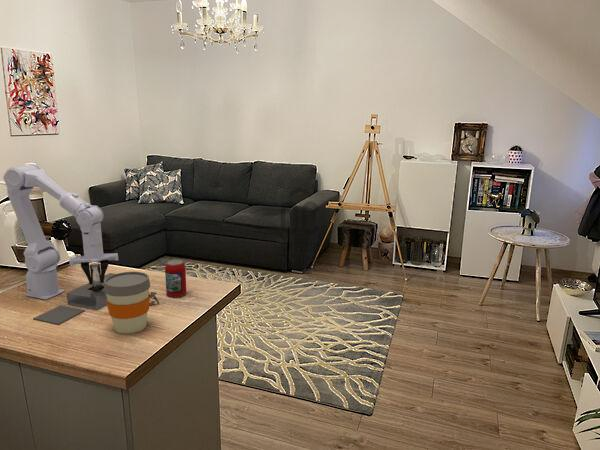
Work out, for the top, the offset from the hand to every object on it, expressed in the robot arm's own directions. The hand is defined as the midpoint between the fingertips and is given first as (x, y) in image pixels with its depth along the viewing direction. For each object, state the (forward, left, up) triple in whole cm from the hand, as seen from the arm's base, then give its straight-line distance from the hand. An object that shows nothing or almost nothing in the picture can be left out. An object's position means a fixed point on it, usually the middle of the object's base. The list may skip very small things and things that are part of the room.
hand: (96, 282), depth 148 cm
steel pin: (0, 0, -3) cm, 3 cm away
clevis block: (0, +3, -6) cm, 7 cm away
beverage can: (+22, +13, -6) cm, 26 cm away
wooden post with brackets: (+18, +2, -6) cm, 19 cm away
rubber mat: (-2, -14, -6) cm, 15 cm away
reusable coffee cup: (+23, -12, -6) cm, 27 cm away
